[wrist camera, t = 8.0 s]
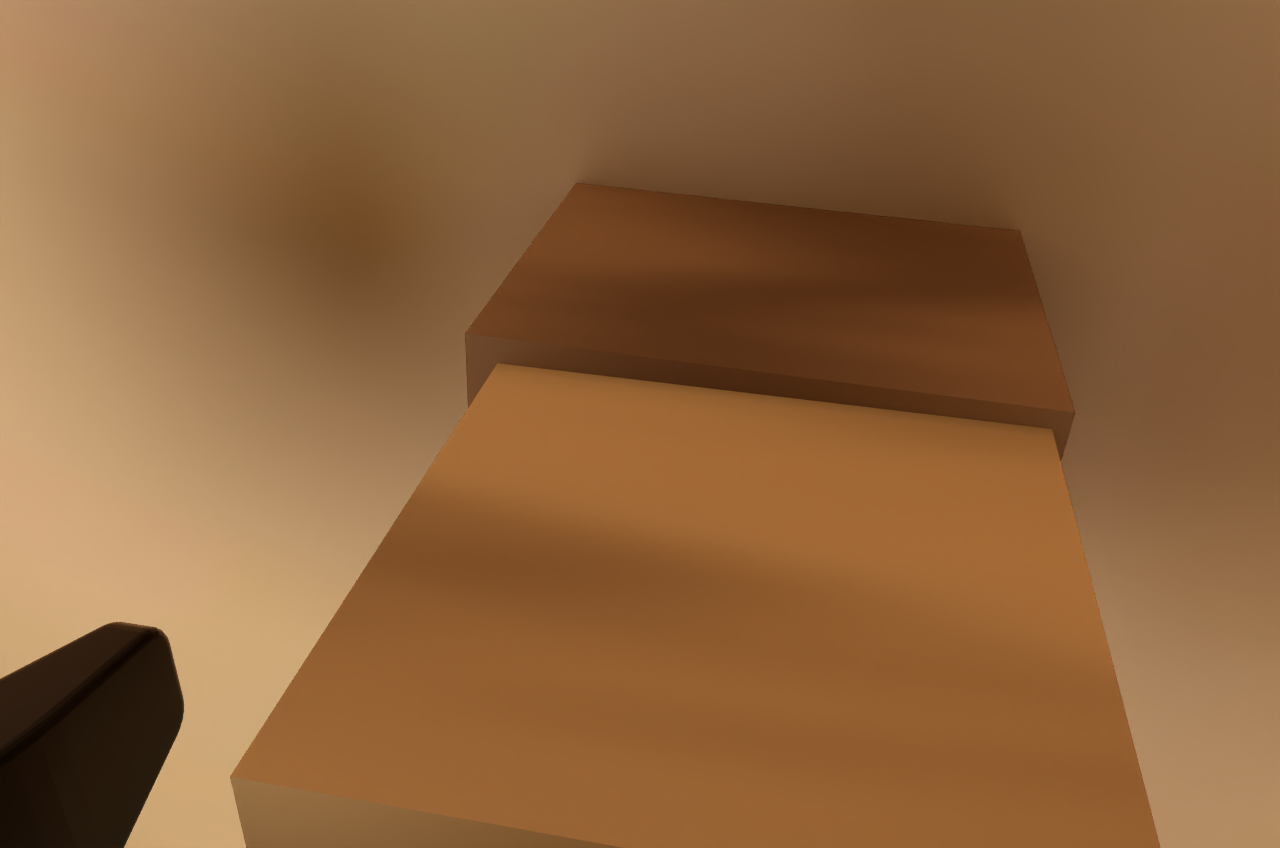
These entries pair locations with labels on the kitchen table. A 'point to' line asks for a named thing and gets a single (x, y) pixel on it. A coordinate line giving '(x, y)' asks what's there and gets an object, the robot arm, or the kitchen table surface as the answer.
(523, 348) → the walnut block
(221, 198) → the kitchen table surface
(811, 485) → the oak cube
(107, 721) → the robot arm
